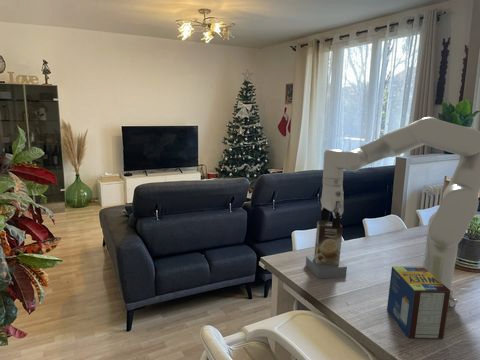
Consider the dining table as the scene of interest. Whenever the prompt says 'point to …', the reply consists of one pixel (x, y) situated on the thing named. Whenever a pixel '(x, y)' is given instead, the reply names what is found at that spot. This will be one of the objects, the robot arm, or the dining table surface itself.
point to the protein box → (418, 302)
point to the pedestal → (325, 269)
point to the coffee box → (327, 243)
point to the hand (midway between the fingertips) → (330, 223)
